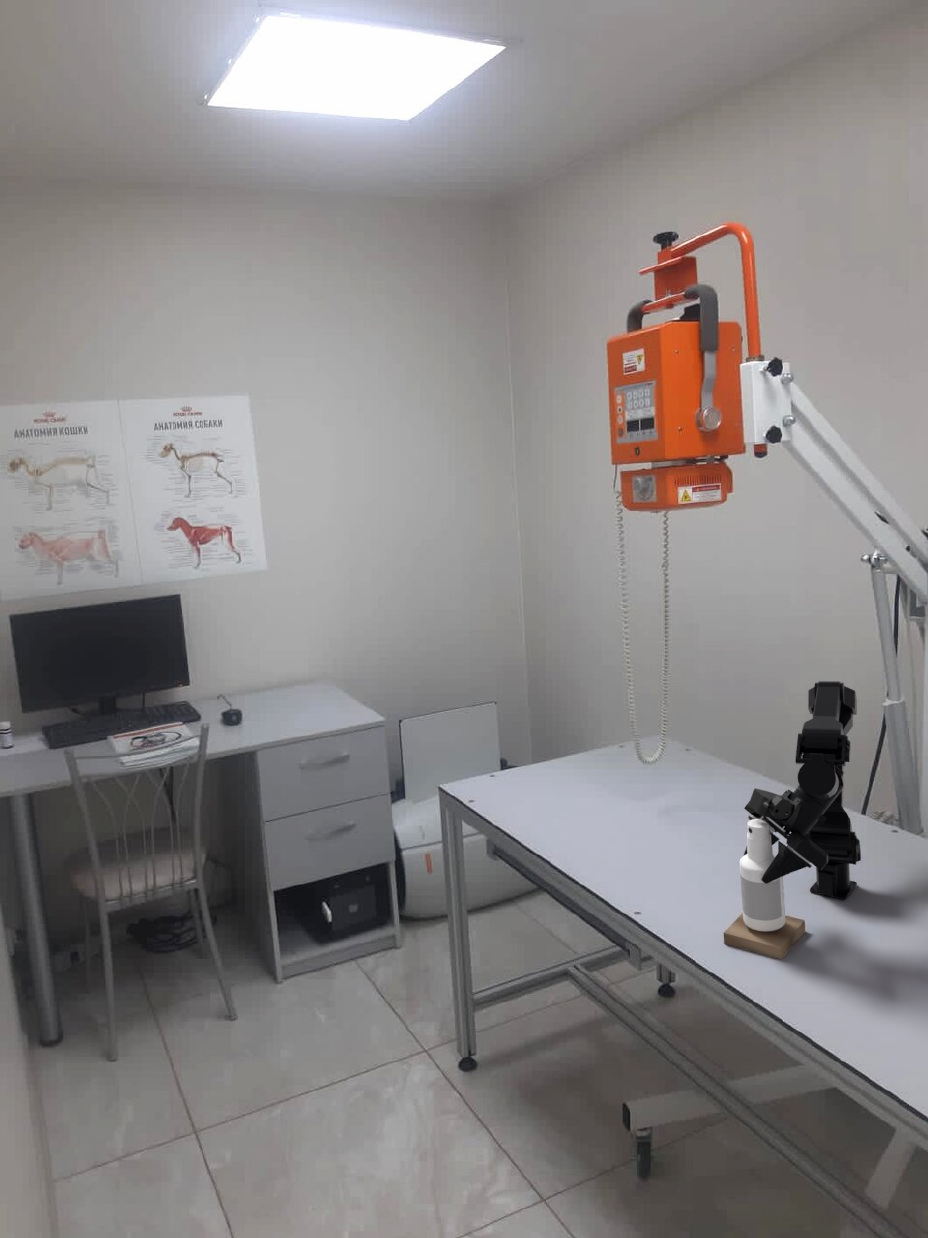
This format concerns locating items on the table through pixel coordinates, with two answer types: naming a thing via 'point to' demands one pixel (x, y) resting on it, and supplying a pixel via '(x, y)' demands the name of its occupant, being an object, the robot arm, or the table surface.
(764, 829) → the spray bottle
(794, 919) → the brown flat square block
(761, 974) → the table surface
